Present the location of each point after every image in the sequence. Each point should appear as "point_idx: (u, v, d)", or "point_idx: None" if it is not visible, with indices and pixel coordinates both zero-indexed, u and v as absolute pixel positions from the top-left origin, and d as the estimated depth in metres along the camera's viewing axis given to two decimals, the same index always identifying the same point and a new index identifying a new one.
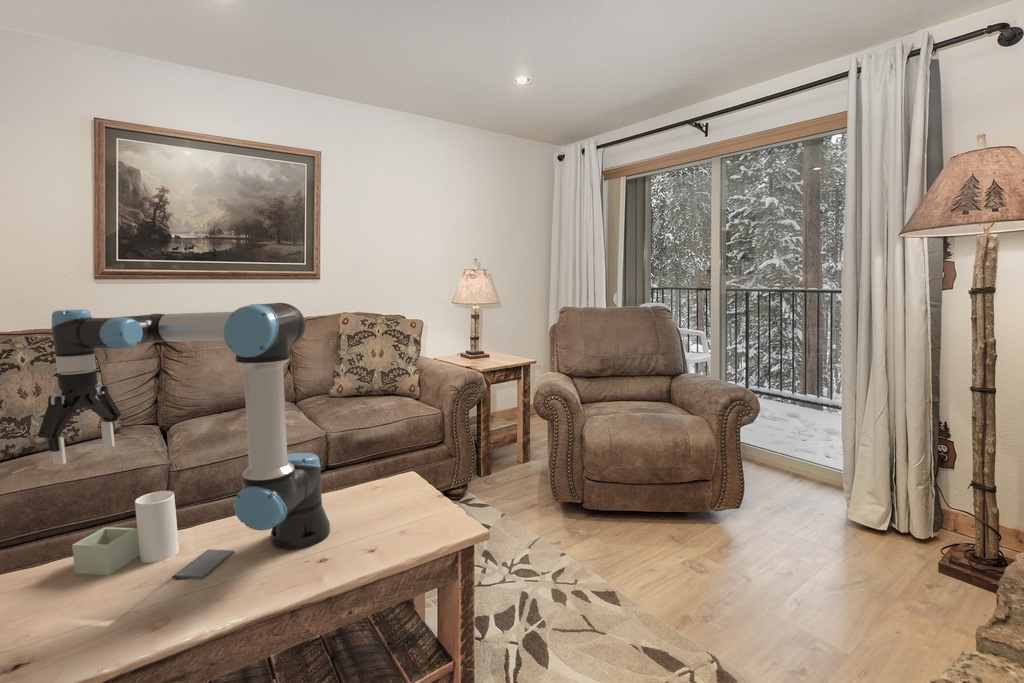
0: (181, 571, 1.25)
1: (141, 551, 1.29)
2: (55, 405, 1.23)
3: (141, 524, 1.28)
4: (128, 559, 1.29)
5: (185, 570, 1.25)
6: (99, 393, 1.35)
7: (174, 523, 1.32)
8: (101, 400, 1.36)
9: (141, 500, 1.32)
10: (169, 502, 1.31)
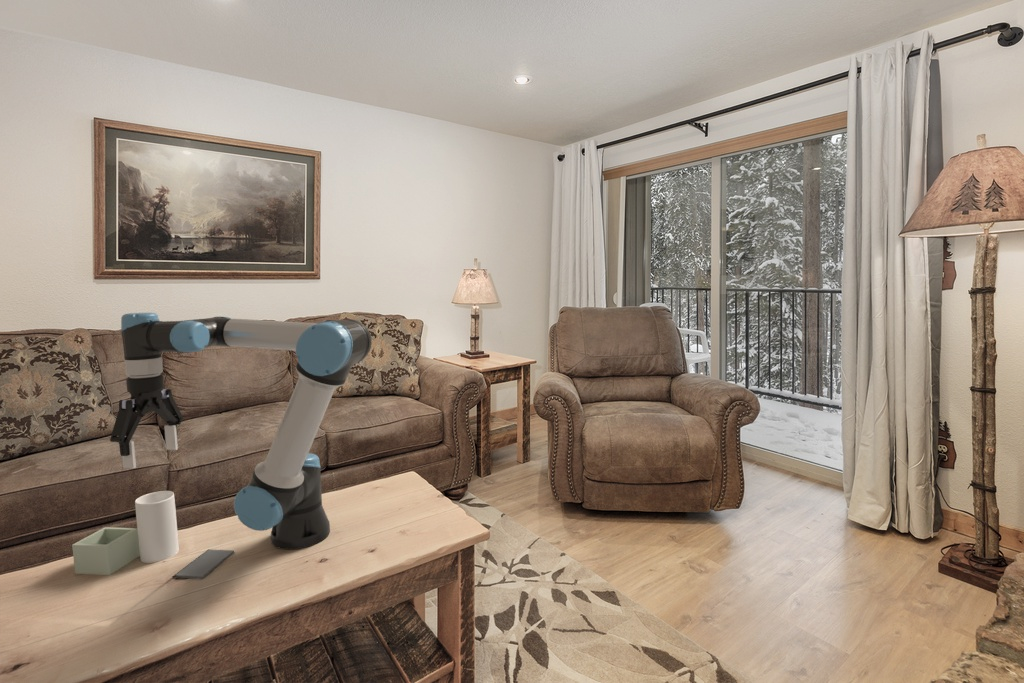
0: (181, 571, 1.25)
1: (141, 551, 1.29)
2: (126, 409, 1.22)
3: (141, 524, 1.28)
4: (128, 559, 1.29)
5: (185, 570, 1.25)
6: (164, 396, 1.34)
7: (174, 523, 1.32)
8: (165, 403, 1.36)
9: (141, 500, 1.32)
10: (169, 502, 1.31)
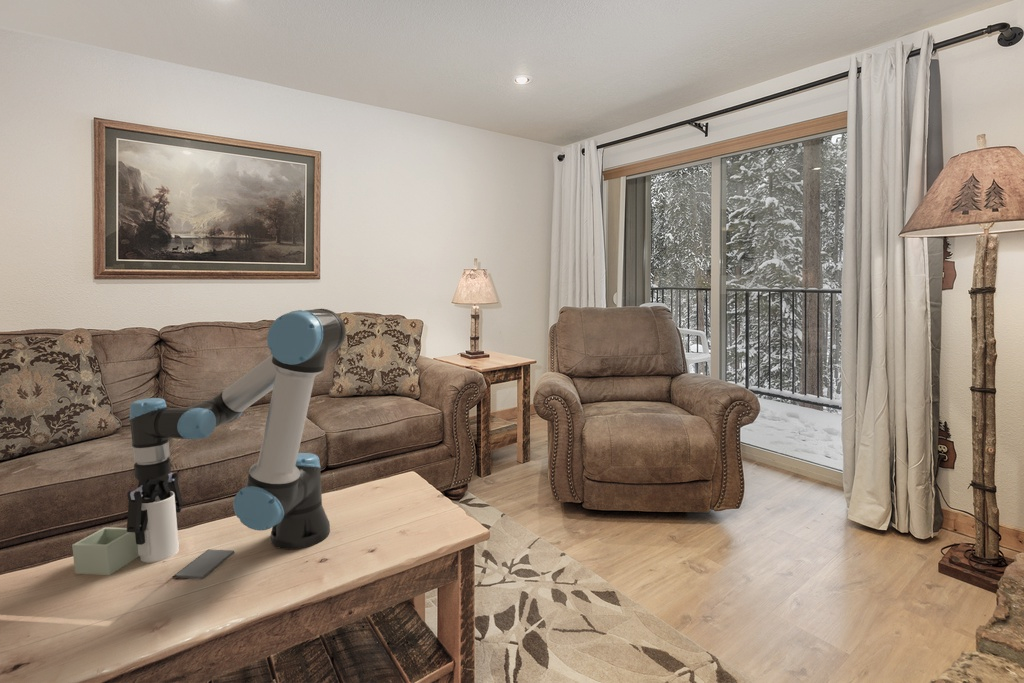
0: (181, 571, 1.25)
1: None
2: (136, 501, 1.25)
3: None
4: (128, 559, 1.29)
5: (185, 570, 1.25)
6: (169, 480, 1.36)
7: (174, 523, 1.32)
8: (169, 488, 1.37)
9: None
10: (169, 502, 1.31)
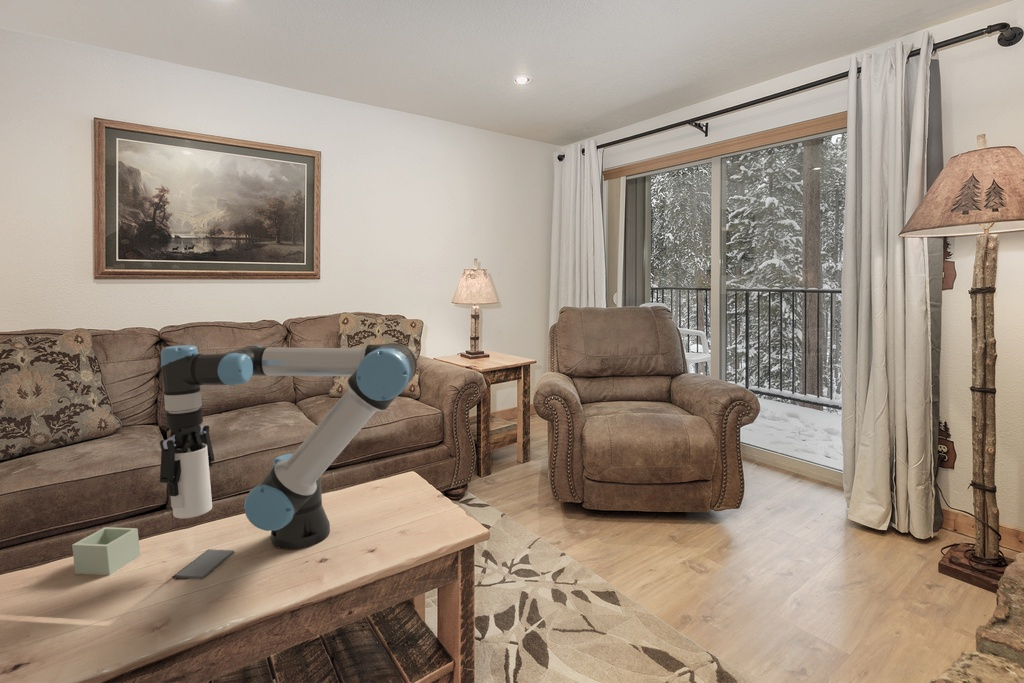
0: (181, 571, 1.25)
1: None
2: (169, 450, 1.19)
3: None
4: (128, 559, 1.29)
5: (185, 570, 1.25)
6: (201, 432, 1.30)
7: (207, 476, 1.27)
8: None
9: None
10: (202, 453, 1.25)
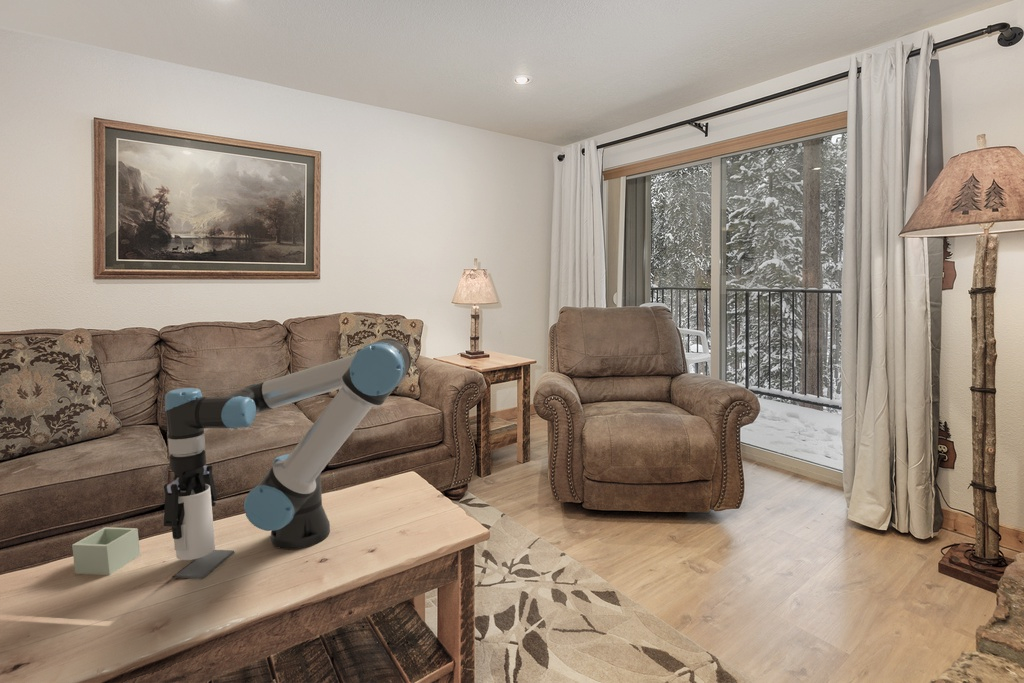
0: (181, 571, 1.25)
1: None
2: (173, 494, 1.20)
3: None
4: (128, 559, 1.29)
5: (185, 570, 1.25)
6: (204, 473, 1.32)
7: (210, 517, 1.28)
8: None
9: None
10: (206, 495, 1.27)
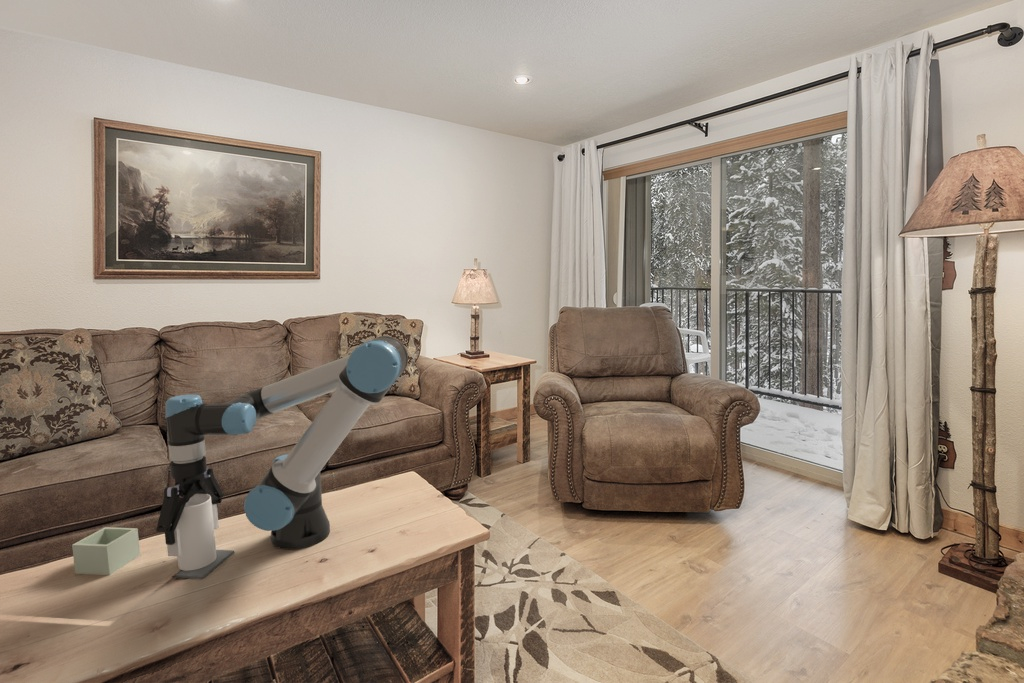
0: (181, 571, 1.25)
1: (179, 556, 1.25)
2: (171, 497, 1.20)
3: (179, 528, 1.24)
4: (128, 559, 1.29)
5: None
6: (205, 477, 1.32)
7: (211, 527, 1.29)
8: (206, 483, 1.34)
9: None
10: (206, 505, 1.27)
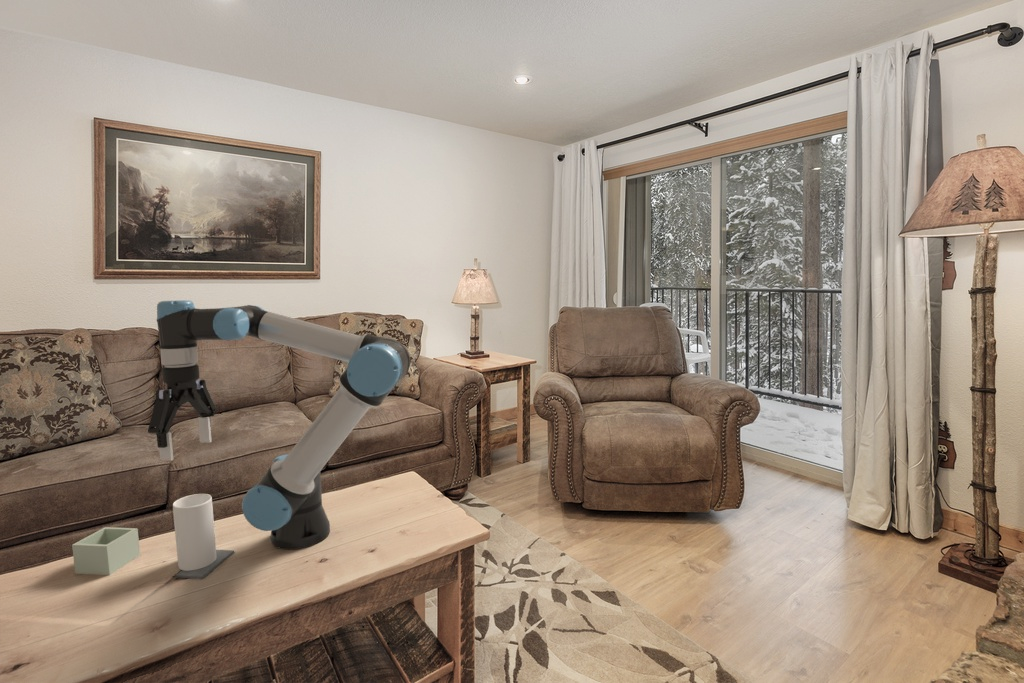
0: (181, 571, 1.25)
1: (179, 556, 1.25)
2: (164, 399, 1.18)
3: (179, 528, 1.24)
4: (128, 559, 1.29)
5: None
6: (198, 387, 1.30)
7: (212, 527, 1.29)
8: (198, 395, 1.32)
9: (178, 503, 1.28)
10: (207, 505, 1.27)
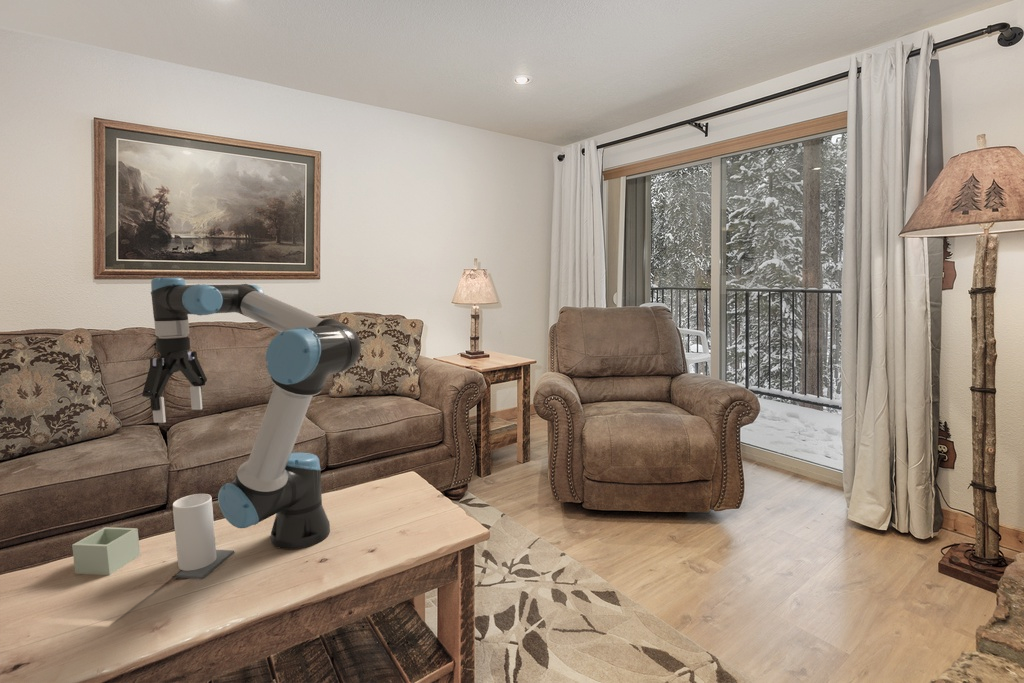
0: (181, 571, 1.25)
1: (179, 556, 1.25)
2: (157, 366, 1.30)
3: (179, 528, 1.24)
4: (128, 559, 1.29)
5: None
6: (190, 358, 1.42)
7: (212, 527, 1.29)
8: (190, 365, 1.43)
9: (178, 503, 1.28)
10: (207, 505, 1.27)
